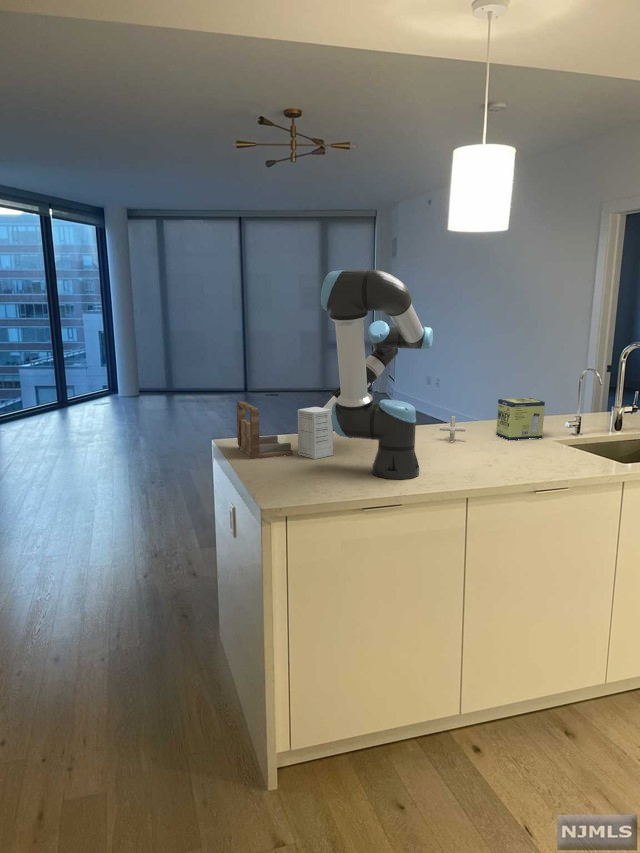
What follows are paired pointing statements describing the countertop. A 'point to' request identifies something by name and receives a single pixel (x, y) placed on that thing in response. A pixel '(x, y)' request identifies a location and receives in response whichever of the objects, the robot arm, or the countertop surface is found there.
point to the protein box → (520, 418)
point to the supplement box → (315, 432)
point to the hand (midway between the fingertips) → (332, 414)
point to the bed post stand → (257, 435)
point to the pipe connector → (452, 428)
